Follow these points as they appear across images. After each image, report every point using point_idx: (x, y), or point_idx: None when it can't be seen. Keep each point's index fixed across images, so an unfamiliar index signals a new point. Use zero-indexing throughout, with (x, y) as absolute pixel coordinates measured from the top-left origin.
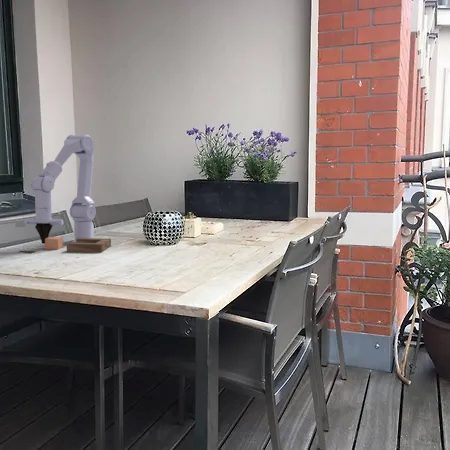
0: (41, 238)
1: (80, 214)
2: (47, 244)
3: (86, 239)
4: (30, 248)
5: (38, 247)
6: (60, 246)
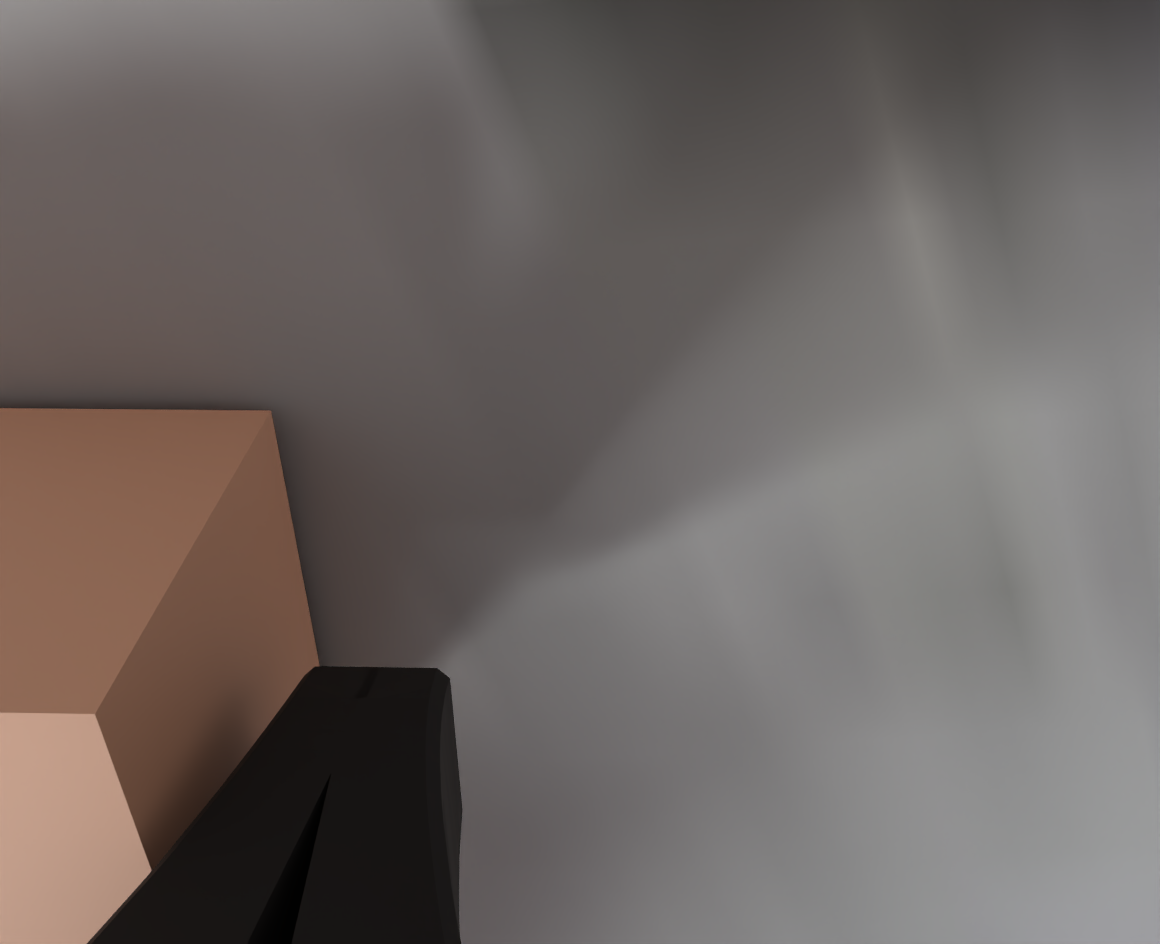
0: (392, 824)
1: None
2: (100, 521)
3: None
4: (915, 588)
5: (707, 743)
6: None
